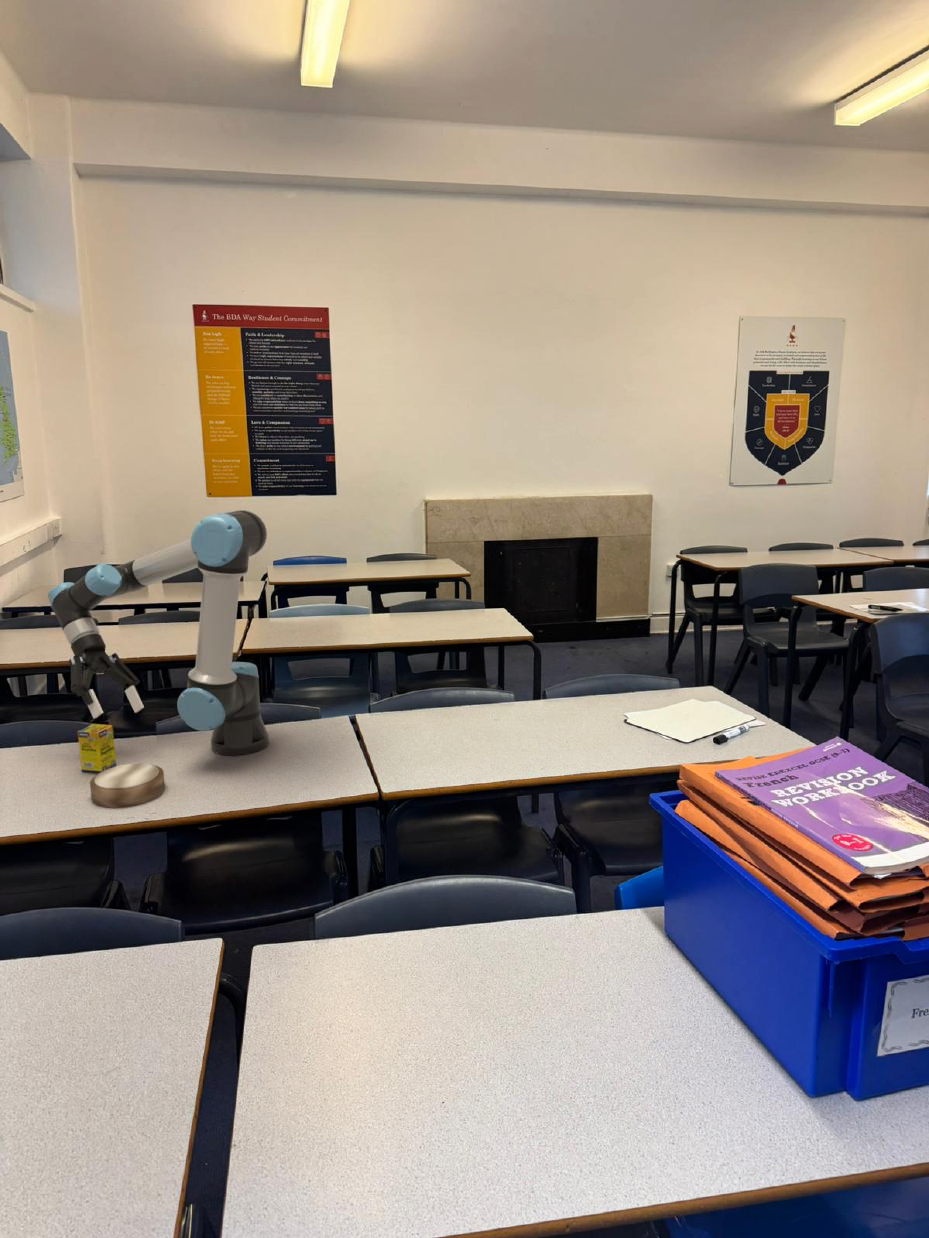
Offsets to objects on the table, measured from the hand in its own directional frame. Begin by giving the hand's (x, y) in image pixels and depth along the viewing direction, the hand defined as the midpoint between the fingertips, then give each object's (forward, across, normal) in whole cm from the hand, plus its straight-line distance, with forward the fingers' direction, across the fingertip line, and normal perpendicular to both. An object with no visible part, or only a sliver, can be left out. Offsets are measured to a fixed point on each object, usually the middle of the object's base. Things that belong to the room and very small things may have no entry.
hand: (119, 712), depth 201 cm
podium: (+20, +7, -1) cm, 22 cm away
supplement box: (+8, -1, -14) cm, 17 cm away
